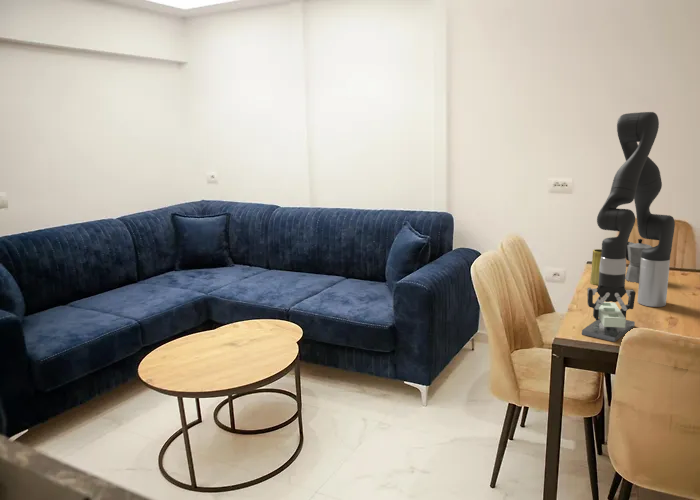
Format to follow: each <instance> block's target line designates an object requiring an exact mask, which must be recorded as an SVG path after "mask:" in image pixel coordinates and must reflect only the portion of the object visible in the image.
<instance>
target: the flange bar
mask: <svg viewBox="0 0 700 500" xmlns="http://www.w3.org/2000/svg"><path fill="white" fill-rule="evenodd" d="M620 309H621V308H619V306H618V304H617V302H606V301H604V303H603V304H602V305H601V306H600V307H599V318H600V320H601V322H602V324H603V326H604V327H621V328H625V323H626V320H627V317H626V318H625V317H624V315H623V314H622V312H621V311H620Z"/></svg>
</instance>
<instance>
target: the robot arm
mask: <svg viewBox="0 0 700 500" xmlns="http://www.w3.org/2000/svg"><path fill="white" fill-rule="evenodd" d="M659 124H660V121H659V116H658V114H657V113H656V112H654V111H643V112H630V113H629V112H628V113H623V114H621V115H620V116H619V117H618V119H617V123H616V132H617V133H616V134H617V137H618V140H619V143H620V147H621V151H622V152H623V155H624V158H625V162H623V164H621V166H620V167H619V168H618V169H617V171H616V173H615V175H614V177H613V180H612V184H611V188H610V191H609V195H608V197H607V198H606V199H605V202H604V203H603V205H602V206H601V208H600V210H599V212H598V214H597V218H596V223H597V226H598V228H600V230H604V231H611V232H612V231H614V232H618V234H617V236H613V237H611V236H610V237H606V238H604V239H603V240H602V243H601V249H602V252H601V260H600V267H599V285H597V288H591V287H587V293H586V295H587V306H588V307H589V308H592V309H593V311H592V312H593V313H592V317H593V318H594V320H595V321H596V320H598V319H599V307H600V306H601V305H602V304H603V303H604V302H615V303H618V304H619V306H620V308H619V309H620V311H621V312H622V314H623V315H624V317H625V318H626V319H627V311H628V310H633V309H634V307H635V299H636V291H635V290H634V289H633V288H632V289H626V288H625V285H626V279H625V277H626V273H627V260H626V249H627V243H628V242H629V238H630V236H631V233H632V231H633V229H634V226H635V223H637V231H638V234H639V236H640V237H641V239H646V240H654V241H658V245H656V246H652V247H651V248H646V249H643V250H642V252H641V263H640V276H639V283H638V290H637V304H640V305H643V306H646V307H652V308H653V307H655V308H657V307H658V308H661V307H665V306H666V304H667V296H668V295H667V294H668V286H669V277H670V276H669V275H670V263H671V253H672V248H673V240H674V234H675V229H676V228H675V225H676V222H675V218H674V217H673V216H672V215H667V214H656V213H651V211H650V207H651V205H652V204H653V202H654V201H655V199H656V198H657V197H658V195H659V194H660V192H661V189H662V187H663V184H662V176H661V171H660V169H659V166H658V165H657V163H656V162H654V161H653V160H652V159H651V158H650V157H649V155H650V153H651V150H652V148H653V145H654V144H655V143H654V142H655V140H656V138H657V134H658V131H659V127H660V126H659ZM633 202H634V206H635V213H636V215H635V213H634V211H633V210H631V209H628V208H619V207H620V206H622V205H623V206H624V205H628V204H631V203H633ZM596 293H597V294H598V297H597V299H596V301H595V302H594V301H593V300H594V299H593V298H594V297H593V296H595V295H596ZM625 295H626V296H627V298H628V299H627V304H625V303H624V300H623V299H622V298H623V297H624V296H625Z"/></svg>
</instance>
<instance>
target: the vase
mask: <svg viewBox="0 0 700 500" xmlns="http://www.w3.org/2000/svg"><path fill="white" fill-rule="evenodd" d="M601 252H602V248H601V249H600V248H599V249H598V248H597V249H595V248H594V249H592V258H591V259H592V260H591V267H590V268H591V271H590V281H589V283H590V284H591V285H595V286H598V285H599V267H600V260H601Z"/></svg>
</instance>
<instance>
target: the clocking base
mask: <svg viewBox="0 0 700 500" xmlns="http://www.w3.org/2000/svg"><path fill="white" fill-rule="evenodd" d="M635 325H636V321H633V320H627V319H626V323H625V328H621V327H604V326H603V324H602V322H601V320H600V318H599V319H598V320H596V319H595V321H593V322H592V323H590V324H589V325H587V326H586V327H585V328H582V329H581V335H583V336H586V337H592V338H596V339H599V340H605V341H607V342H608V341H609V342H614V343H615V342H617V341H618V340H619V339H620V338H622V337H623V336H624V335H625V334H627V333H628V332H629V331H630V330H632V329H633V328H634V327H635ZM627 331H628V332H627Z"/></svg>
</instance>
